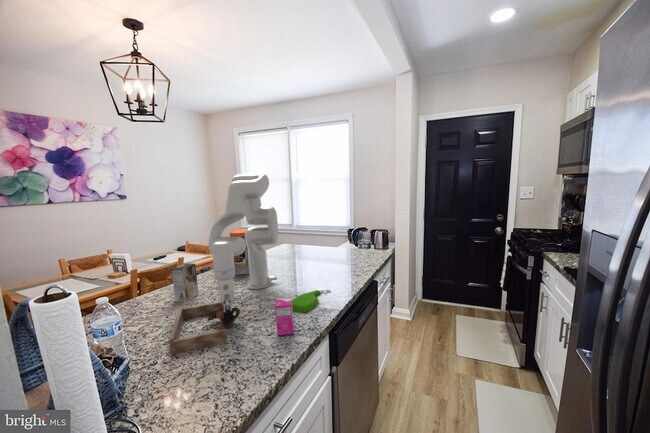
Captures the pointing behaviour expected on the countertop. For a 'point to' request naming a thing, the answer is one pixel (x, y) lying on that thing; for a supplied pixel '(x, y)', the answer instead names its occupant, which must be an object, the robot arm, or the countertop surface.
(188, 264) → the coffee box
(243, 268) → the supplement tub
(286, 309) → the supplement box
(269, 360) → the countertop surface
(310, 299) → the spray bottle
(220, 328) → the pottery mug
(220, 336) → the wooden u-shaped frame
